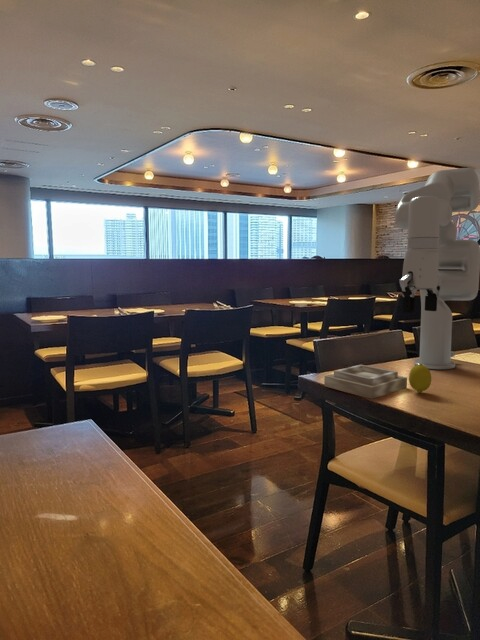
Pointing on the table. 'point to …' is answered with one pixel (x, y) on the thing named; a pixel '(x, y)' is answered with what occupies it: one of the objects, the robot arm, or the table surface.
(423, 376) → the lemon
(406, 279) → the robot arm
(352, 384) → the stand
